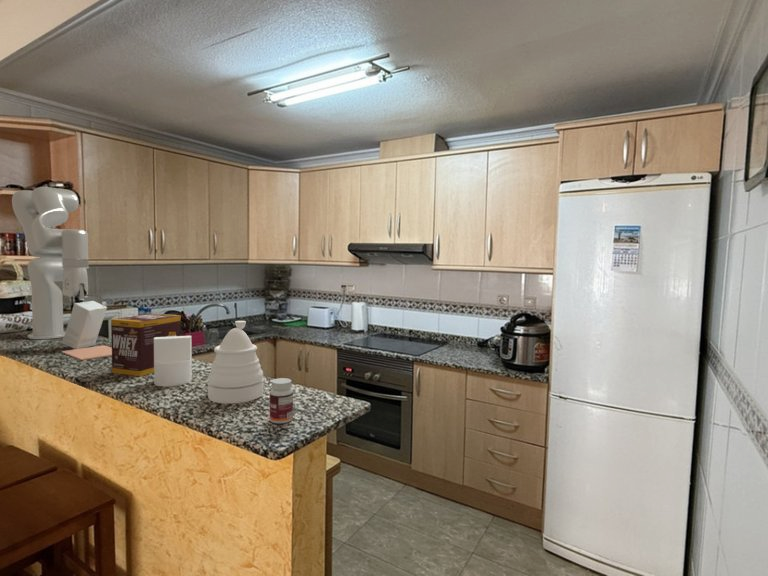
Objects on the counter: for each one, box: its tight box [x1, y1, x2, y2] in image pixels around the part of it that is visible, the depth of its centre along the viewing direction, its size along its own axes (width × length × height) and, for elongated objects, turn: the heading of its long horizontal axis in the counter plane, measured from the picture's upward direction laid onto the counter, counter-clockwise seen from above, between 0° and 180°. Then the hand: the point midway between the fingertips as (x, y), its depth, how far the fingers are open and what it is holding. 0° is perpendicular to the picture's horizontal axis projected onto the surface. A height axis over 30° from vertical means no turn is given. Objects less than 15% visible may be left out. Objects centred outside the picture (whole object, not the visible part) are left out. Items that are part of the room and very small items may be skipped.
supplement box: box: [110, 312, 182, 377], centre depth 123 cm, size 10×15×16 cm
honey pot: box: [207, 320, 264, 404], centre depth 102 cm, size 13×13×18 cm
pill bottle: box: [269, 377, 294, 424], centre depth 87 cm, size 5×5×8 cm
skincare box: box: [61, 300, 108, 350], centre depth 147 cm, size 8×7×16 cm
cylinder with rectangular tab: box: [153, 335, 193, 387], centre depth 111 cm, size 9×9×12 cm
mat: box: [60, 345, 112, 361], centre depth 141 cm, size 17×13×1 cm
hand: (77, 315), depth 148 cm, fingers closed
